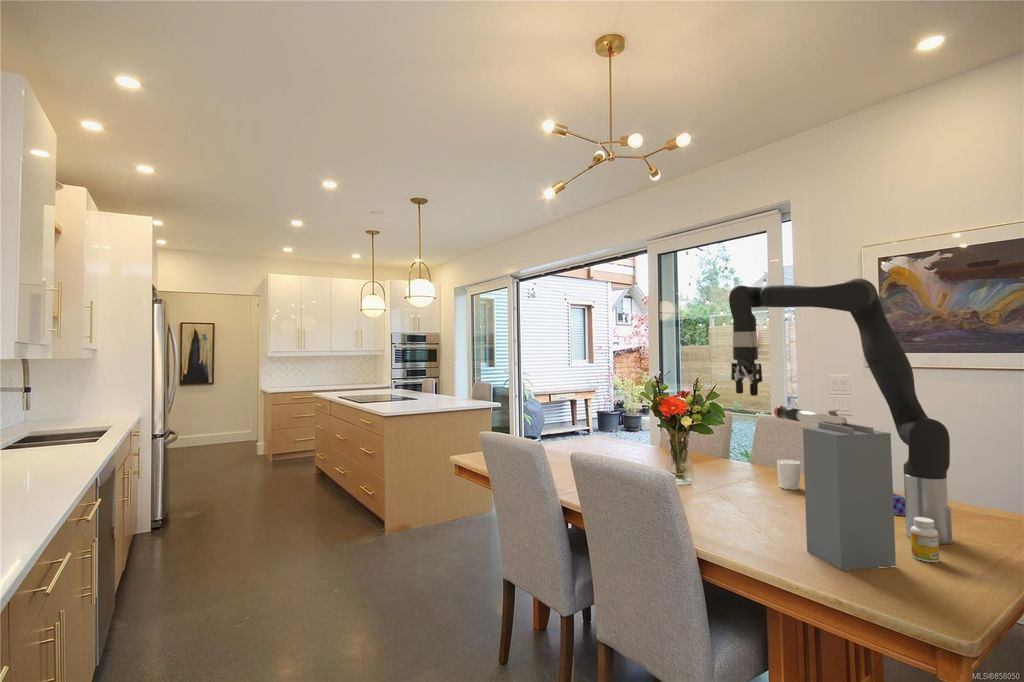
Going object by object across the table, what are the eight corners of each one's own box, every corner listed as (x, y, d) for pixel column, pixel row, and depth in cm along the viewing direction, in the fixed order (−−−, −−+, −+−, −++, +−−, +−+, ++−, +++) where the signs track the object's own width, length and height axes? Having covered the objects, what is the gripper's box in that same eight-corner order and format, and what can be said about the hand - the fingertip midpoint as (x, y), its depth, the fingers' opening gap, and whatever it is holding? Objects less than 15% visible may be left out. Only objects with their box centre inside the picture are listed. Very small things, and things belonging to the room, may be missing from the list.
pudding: (867, 512, 162) (867, 495, 163) (873, 503, 171) (872, 488, 171) (915, 520, 154) (914, 502, 154) (918, 510, 163) (918, 494, 163)
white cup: (772, 486, 194) (772, 460, 195) (788, 484, 197) (788, 458, 197) (789, 491, 187) (788, 464, 187) (806, 489, 189) (805, 462, 189)
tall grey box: (807, 551, 131) (802, 422, 132) (856, 548, 132) (852, 421, 133) (841, 570, 119) (836, 429, 120) (895, 567, 120) (890, 427, 121)
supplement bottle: (911, 552, 129) (910, 514, 129) (939, 558, 125) (937, 518, 126) (911, 559, 125) (909, 520, 125) (939, 565, 121) (938, 524, 121)
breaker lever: (774, 418, 152) (774, 405, 152) (786, 418, 153) (785, 405, 153) (835, 430, 127) (834, 415, 127) (848, 430, 128) (848, 415, 128)
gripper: (723, 346, 174) (724, 393, 174) (746, 345, 160) (748, 396, 159) (744, 346, 175) (745, 392, 174) (768, 345, 161) (770, 395, 160)
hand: (746, 394), depth 167 cm, fingers open, 8 cm apart
